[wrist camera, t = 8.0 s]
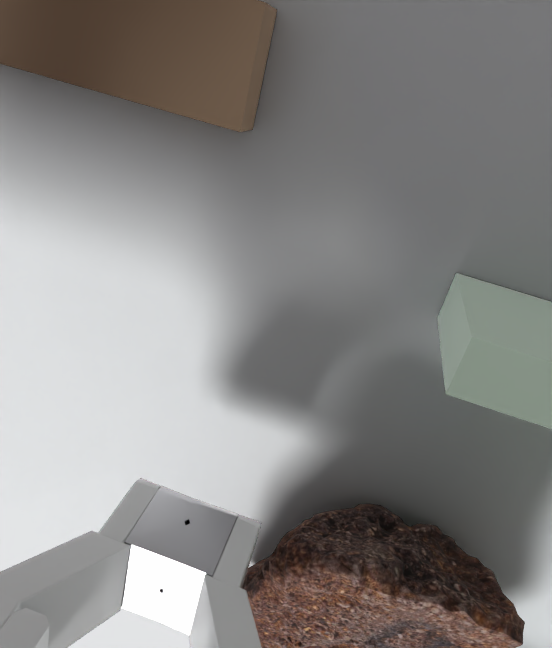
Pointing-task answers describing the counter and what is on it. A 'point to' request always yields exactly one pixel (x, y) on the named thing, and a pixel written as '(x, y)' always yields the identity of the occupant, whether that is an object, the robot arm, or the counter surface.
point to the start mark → (148, 51)
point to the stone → (376, 588)
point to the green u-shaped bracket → (497, 349)
